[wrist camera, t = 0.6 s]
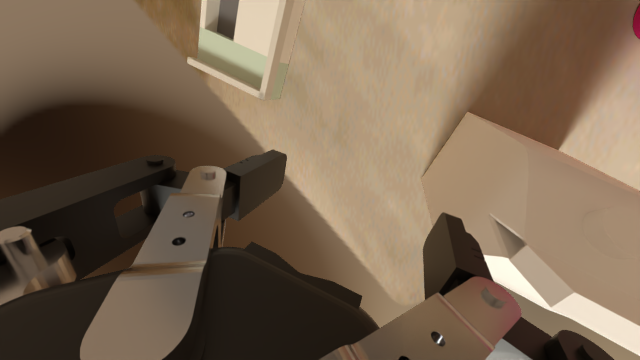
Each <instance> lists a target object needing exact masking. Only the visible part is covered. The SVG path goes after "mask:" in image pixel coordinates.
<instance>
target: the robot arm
mask: <svg viewBox="0 0 640 360" xmlns="http://www.w3.org/2000/svg"><path fill="white" fill-rule="evenodd" d="M286 161H287V156H286V154H284V153H281V152H278V151H275V150H270V151H268V152H266V153H264V154H262V155H255V156H251V157H249V158H247V159H245V160H242V161H240V162H237V163H235V164H233V165H231V166H228V167H226V168H224V169H222V168H219V167H214V166H201V167H197V168H194V169H193V170H191V171H190V172H185V171H179V170H176V165H175V160H174V159H172V158H171V157H167V156H159V155H154V156H146V157H142V158H138V159H135V160H132V161H128V162H125V163H122V164H119V165H115V166H112V167H108V168H105V169H101V170H98V171H95V172H91V173H88V174H85V175H81V176H78V177H75V178H71V179H68V180H65V181H61V182H58V183H55V184H51V185H48V186H45V187H41V188H38V189H35V190H31V191H28V192H24V193H21V194H18V195H14V196H11V197H8V198H4V199H1V200H0V360H614V359H613V358H612V357H611V356H610V355H608V354H607V353H606V352H605V351H604V350H602V349H601V348H600V347H599V346H597V345H596V344H594V343H593V342H591V341H590V340H588V339H587V338H585V337H583V336H581V335H579V334H577V333H575V332H572V331H568V330H562V331H559V332H558V333H557V334H556V335H554V336H553V337H551V336H550V335H548V334H547V333H545V332H544V331H542V330H540V329H539V328H537V327H536V326H534V325H533V324H531V323H529V322H528V321H527V320H525V319H524V318H522V317H521V309H520V307H519V305H518V303H517V302H516V300H515V299H514V298H513V297H512V296H511V295H510V294H509V293H508V292H507V291H506V290H505V289H503V288H502V287H501V286H499V285H498V284H496V283H495V282H494V281H493V278H492V276H491V273H490V271H489V268H488V266H487V263H486V261H485V258H484V255H483V254H482V250H481V248H480V245H479V243H478V242H477V241H476V239H475V238H474V237H473V236H472V235H471V234H470V233H467V232H466V230H465V227H464V224H463V221H462V219H461V218H458V217H455V216H452V215H450V214H447V213H444V212H443V213H441V214H440V216H439V217H438V219H437V221H436V223H435V224H434V226H433V228H432V230H431V231H430V233H429V235H428V237H427V239H426V241H425V244H424V247H423V263H424V289H425V300H424V301H423V302H421V303H420V304H418V305H416V306H415V307H413V308H412V309H410V310H408V311H407V312H405V313H404V314H402V315H400V316H399V317H397V318H396V319H394V320H392V321H391V322H389V323H388V324H386V325H384V326H383V327H381V328H379V327H378V325H377V324H376V323H375V321H374V320H373V319H372V318H371V317H370V316H369V315H368V314H367V313H366V312H365V311H364V310H363V309H362V308H361V307H359V306H360V303H361V299H362V296H361V295H359V294H357V293H355V292H353V291H351V290H349V289H347V288H345V287H343V286H341V285H339V284H337V283H335V282H332V281H329V280H325V279H321V278H317V277H313V276H309V275H305V274H302V273H299V272H298V271H297V270H295V269H294V268H293V267H292V266H290V265H289V264H288V263H287V262H286V261H284V260H283V259H282V258H281V257H280V256H279V255H277V254H276V253H274V252H272V251H270V250H268V249H266V248H264V247H262V246H260V245H258V244H256V243H254V242H251V243H250V244H249V245H248V246H247V247H246V248H245V249H243V248H237V247H222V245H223V238H224V231H225V219H226V218H228V217H230V218H232V219H235V220H237V221H239V220H241V219H242V218H243V217H245V216H246V215H247V214H248V213H250V212H251V211H252V210H254V209H255V208H256V207H257V206H259V205H260V204H261V203H263V202H264V201H265V200H267V199H268V198H269V197H271V196H272V195H273V194H274V193H276V192H277V191H278V190H279V189H280V188H281V186H282V184H283V180H284V174H285V167H286ZM137 192H140V194H141V199H142V204H143V205H141V206H139V207H137V208H135V209H133V210H131V211H129V212H127V213H125V214H123V215H121V216H119V217H116V218H115V215H114V207H115V205H116V204H117V203H118V202H119V201H120V200H121V199H124V198H126V197H128V196H131V195H133V194H135V193H137ZM146 238H147V239H146ZM144 239H146V241H145V243H144V245H143V246H142V248H141V250H140V252H139V254H138V256H137V258H136V259H135V261H134V263H133V265H132V266H131V267H130V268H128V269H124V270H120V271H116V272H112V273H108V274H103V275H99V276H95V277H91V278H87V279H82V278H84V277H85V276H87V275H88V274H90V273H92V272H93V271H95V270H96V269H98V268H100V267H101V266H103V265H104V264H106V263H108V262H109V261H111V260H112V259H114V258H116V257H117V256H119V255H120V254H122V253H123V252H125V251H126V250H128V249H130V248H132V247H133V246H135V245H137V244H138V243H140V242H141V241H143V240H144ZM80 279H82V280H80Z"/></svg>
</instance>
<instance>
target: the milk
mask: <svg viewBox="0 0 640 360" xmlns="http://www.w3.org/2000/svg"><path fill="white" fill-rule="evenodd" d="M421 181H422V185H423V189H424V193H425V197H426V201H427V205H428V209H429V213H430V217H431V221H432V225H433V226H434V224H435V223H436V221H437V219H438V217H439V216H440V214H441V213H443V212H444V213H447V214H450V215H452V216H455V217H458V218H461V219H462V221H463V224H464V227H465V230H466V232H467V233H470V234H471V235H472V236H473V237H474V238H475V239H476V241H477V242H478V243H479V245H480V248H481V250H482V254H483V255H484V258H485V261H486V263H487V266H488V268H489V271H490V273H491V276H492V278H493V280H494V281H496V282H498V283H499V284H501V285H503V286H505V287H507V288H509V289H511V290H512V291H514V292H516V293H518V294H520V295H521V296H524V297H525V298H527V299H529V300H531V301H533V302H534V303H536V304H538V305H540V306H542V307H543V308H545V309H548V310H551V311H553V312H556V313H558V314H561V315H563V316H566V317H569V318H571V319H573V320H575V321H576V322H578V323H580V324H582V325H584V326H586V327H587V328H589V329H591V330H593V331H595V332H597V333H598V334H600V335H602V336H604V337H606V338H608V339H609V340H611V341H613V342H615V343H617V344H619V345H621V346H622V347H624V348H626V349H628V350H630V351H632V352H633V353H636V354H637V355H639V356H640V191H639V190H637V189H635V188H633V187H631V186H629V185H627V184H625V183H623V182H621V181H619V180H617V179H615V178H613V177H611V176H609V175H607V174H605V173H603V172H601V171H599V170H597V169H595V168H593V167H591V166H589V165H587V164H585V163H583V162H581V161H579V160H577V159H575V158H573V157H571V156H569V155H567V154H565V153H563V152H561V151H559V150H557V149H554V148H552V147H550V146H547V145H545V144H543V143H540V142H538V141H535V140H533V139H531V138H528V137H526V136H524V135H521V134H519V133H517V132H514V131H512V130H510V129H507V128H505V127H502V126H500V125H498V124H495V123H493V122H491V121H488V120H486V119H484V118H481V117H479V116H477V115H474V114H472V113H470V112H467V113H466V114H465V116H464V117H463V119H462V120H461V121H460V123H459V124H458V126H457V127H456V129H455V130H454V132H453V133H452V135H451V136H450V138H449V139H448V140H447V142H446V143H445V145H444V146H443V148H442V149H441V151H440V152H439V154H438V155H437V157H436V158H435V159H434V161H433V162H432V164H431V165H430V167H429V168H428V170H427V171H426V173H425V174H424V175H423V177H422V178H421Z"/></svg>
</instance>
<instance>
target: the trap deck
mask: <svg viewBox="0 0 640 360" xmlns="http://www.w3.org/2000/svg"><path fill="white" fill-rule="evenodd" d="M304 4H305V0H202V7H201V19H200V32H199V45H198V58H192V57H188V61H187V63H188V64H190V65H192V66H194V67H196V68H198V69H200V70H202V71H204V72H206V73H209V74H211V75H213V76H215V77H217V78H219V79H221V80H223V81H225V82H227V83H229V84H231V85H233V86H235V87H237V88H239V89H241V90H243V91H245V92H247V93H249V94H251V95H253V96H255V97H257V98H259V99H261V100H276V99H280V96H281V92H282V88H283V84H284V80H285V76H286V73H287V69H288V65H289V61H290V57H291V53H292V50H293V46H294V42H295V38H296V34H297V30H298V27H299V23H300V19H301V15H302V11H303V7H304Z"/></svg>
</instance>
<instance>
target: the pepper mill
mask: <svg viewBox="0 0 640 360" xmlns="http://www.w3.org/2000/svg"><path fill="white" fill-rule="evenodd" d="M633 29H634V32H635V34H636V36H637V37H638V38H639V39H640V6H639V7H638V9H637V11H636V14H635V16H634V21H633Z"/></svg>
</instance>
